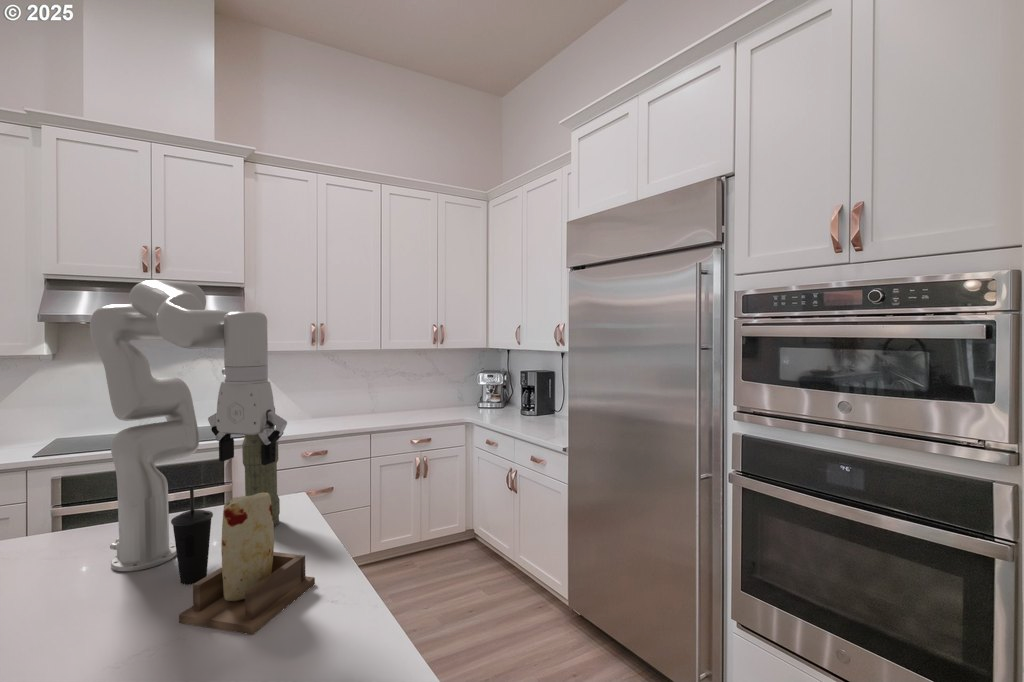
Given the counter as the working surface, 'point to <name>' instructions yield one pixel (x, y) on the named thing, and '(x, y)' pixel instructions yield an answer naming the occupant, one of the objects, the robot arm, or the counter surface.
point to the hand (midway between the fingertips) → (247, 461)
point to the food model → (246, 543)
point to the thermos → (260, 472)
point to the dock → (248, 597)
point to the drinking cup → (192, 542)
